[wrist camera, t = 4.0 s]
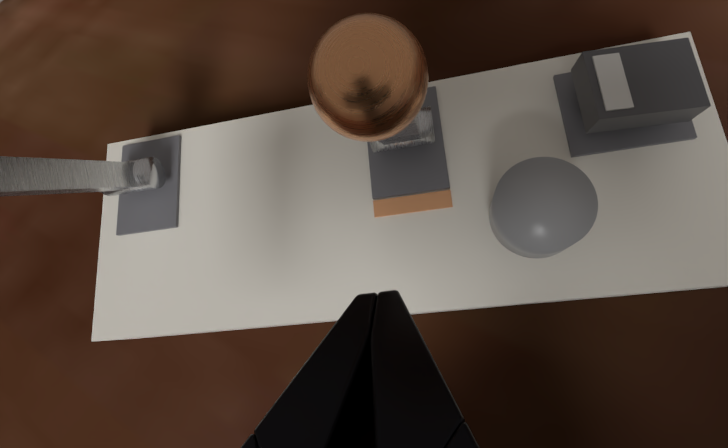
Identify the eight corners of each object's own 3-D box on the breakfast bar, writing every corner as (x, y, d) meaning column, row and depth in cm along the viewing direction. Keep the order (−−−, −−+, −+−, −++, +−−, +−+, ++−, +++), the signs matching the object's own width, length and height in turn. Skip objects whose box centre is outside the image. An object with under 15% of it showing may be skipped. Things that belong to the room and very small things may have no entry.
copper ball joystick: (436, 154, 19) (442, 122, 7) (377, 163, 19) (297, 147, 8) (429, 97, 18) (423, -29, 7) (369, 108, 19) (273, 8, 8)
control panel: (721, 287, 18) (777, 280, 15) (135, 338, 23) (88, 341, 20) (657, 71, 20) (692, 28, 17) (145, 163, 26) (104, 142, 23)
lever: (170, 197, 21) (-134, 221, 10) (124, 204, 22) (-214, 236, 10) (160, 148, 21) (-162, 115, 10) (114, 156, 21) (-244, 135, 10)
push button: (589, 252, 16) (608, 243, 14) (496, 263, 17) (502, 255, 15) (570, 168, 17) (586, 149, 15) (482, 181, 17) (486, 164, 16)
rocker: (688, 121, 16) (712, 104, 15) (585, 133, 16) (600, 118, 15) (669, 56, 17) (689, 36, 16) (570, 70, 17) (583, 50, 16)
